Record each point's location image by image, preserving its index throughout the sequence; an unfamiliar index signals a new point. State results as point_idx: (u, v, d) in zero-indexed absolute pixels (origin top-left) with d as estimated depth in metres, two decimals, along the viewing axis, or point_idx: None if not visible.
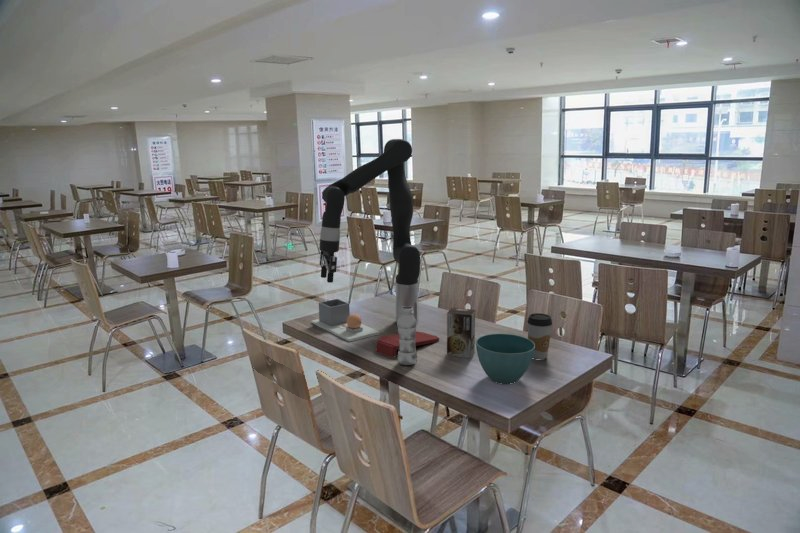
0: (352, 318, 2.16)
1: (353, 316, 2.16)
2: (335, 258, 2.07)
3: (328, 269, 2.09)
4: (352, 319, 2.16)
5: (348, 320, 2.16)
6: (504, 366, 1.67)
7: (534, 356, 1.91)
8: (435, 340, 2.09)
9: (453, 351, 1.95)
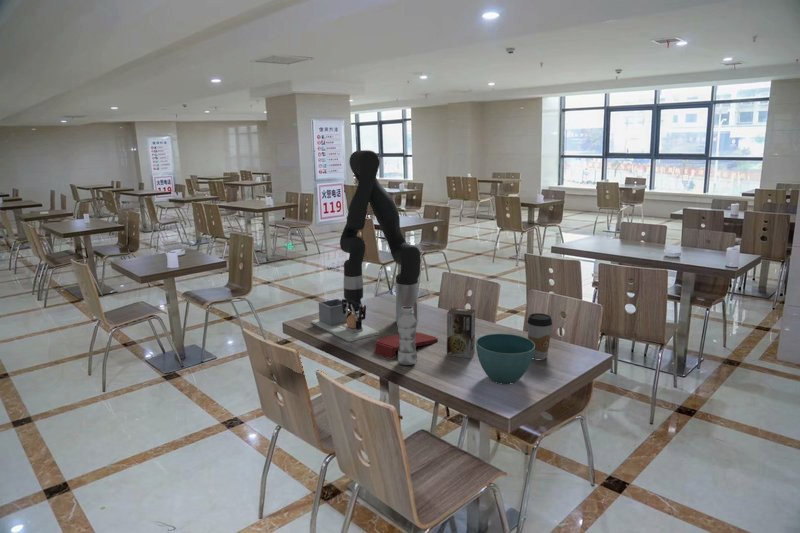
0: (352, 318, 2.16)
1: (353, 316, 2.16)
2: (364, 307, 2.12)
3: (357, 318, 2.14)
4: (352, 319, 2.16)
5: (348, 320, 2.16)
6: (504, 366, 1.67)
7: (534, 356, 1.91)
8: (434, 341, 2.08)
9: (453, 351, 1.95)
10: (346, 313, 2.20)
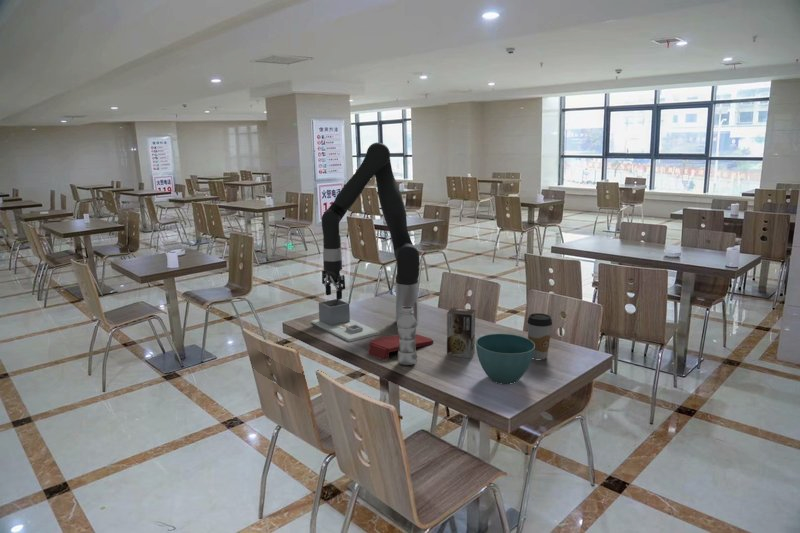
0: None
1: None
2: (342, 276, 2.21)
3: (337, 287, 2.23)
4: None
5: None
6: (504, 366, 1.67)
7: (534, 356, 1.91)
8: (429, 343, 2.06)
9: (453, 351, 1.95)
10: (325, 283, 2.30)
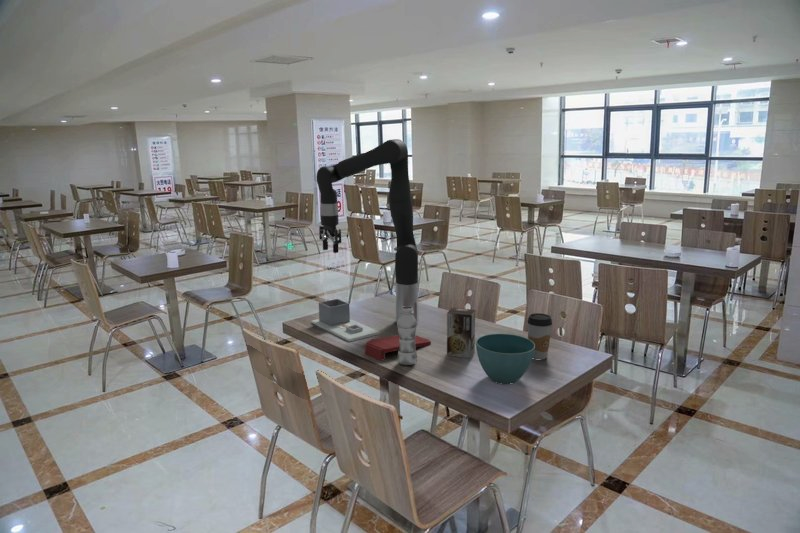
0: None
1: None
2: (339, 230, 2.32)
3: (333, 241, 2.33)
4: None
5: None
6: (504, 366, 1.67)
7: (534, 356, 1.91)
8: (426, 343, 2.05)
9: (453, 351, 1.95)
10: (322, 238, 2.40)
